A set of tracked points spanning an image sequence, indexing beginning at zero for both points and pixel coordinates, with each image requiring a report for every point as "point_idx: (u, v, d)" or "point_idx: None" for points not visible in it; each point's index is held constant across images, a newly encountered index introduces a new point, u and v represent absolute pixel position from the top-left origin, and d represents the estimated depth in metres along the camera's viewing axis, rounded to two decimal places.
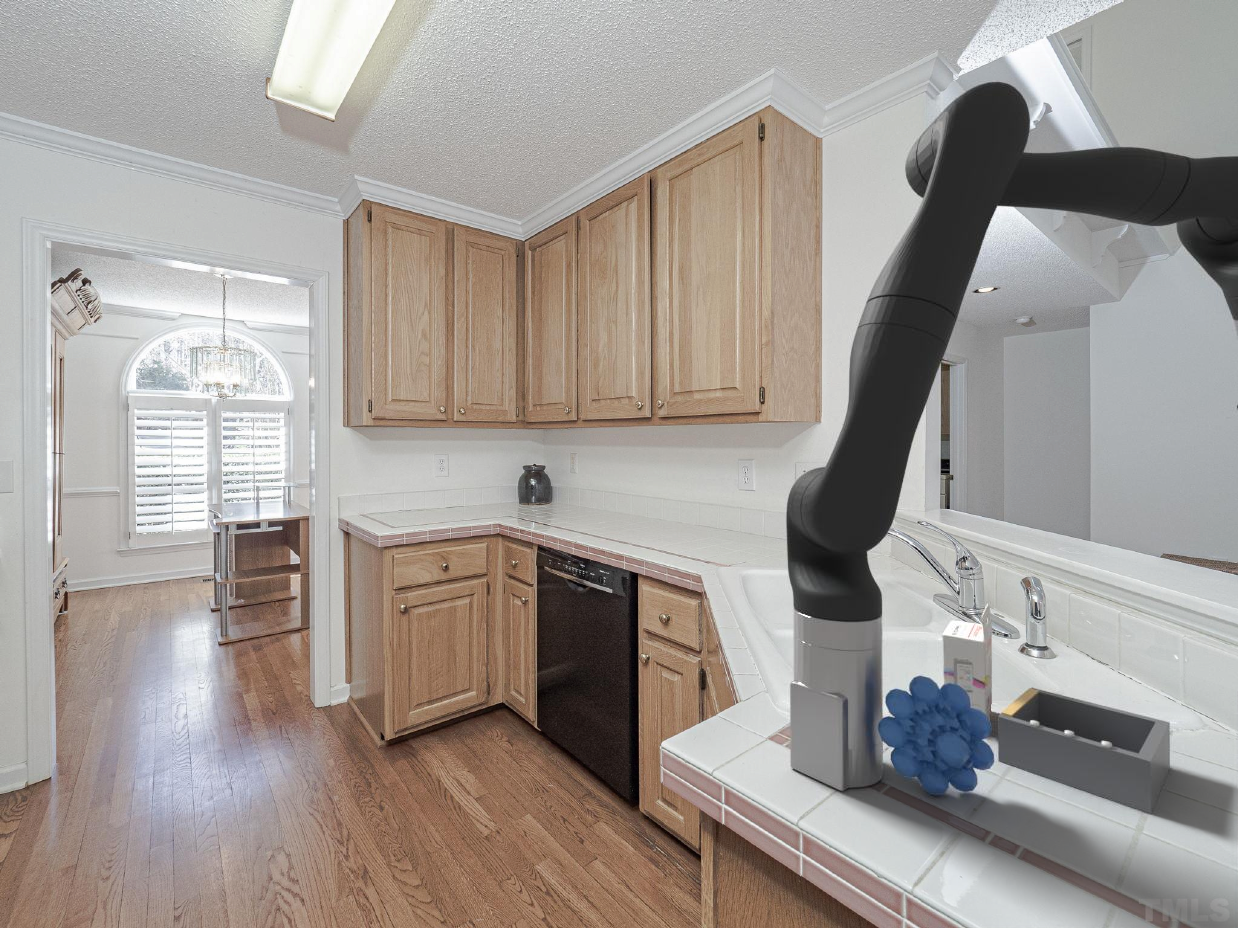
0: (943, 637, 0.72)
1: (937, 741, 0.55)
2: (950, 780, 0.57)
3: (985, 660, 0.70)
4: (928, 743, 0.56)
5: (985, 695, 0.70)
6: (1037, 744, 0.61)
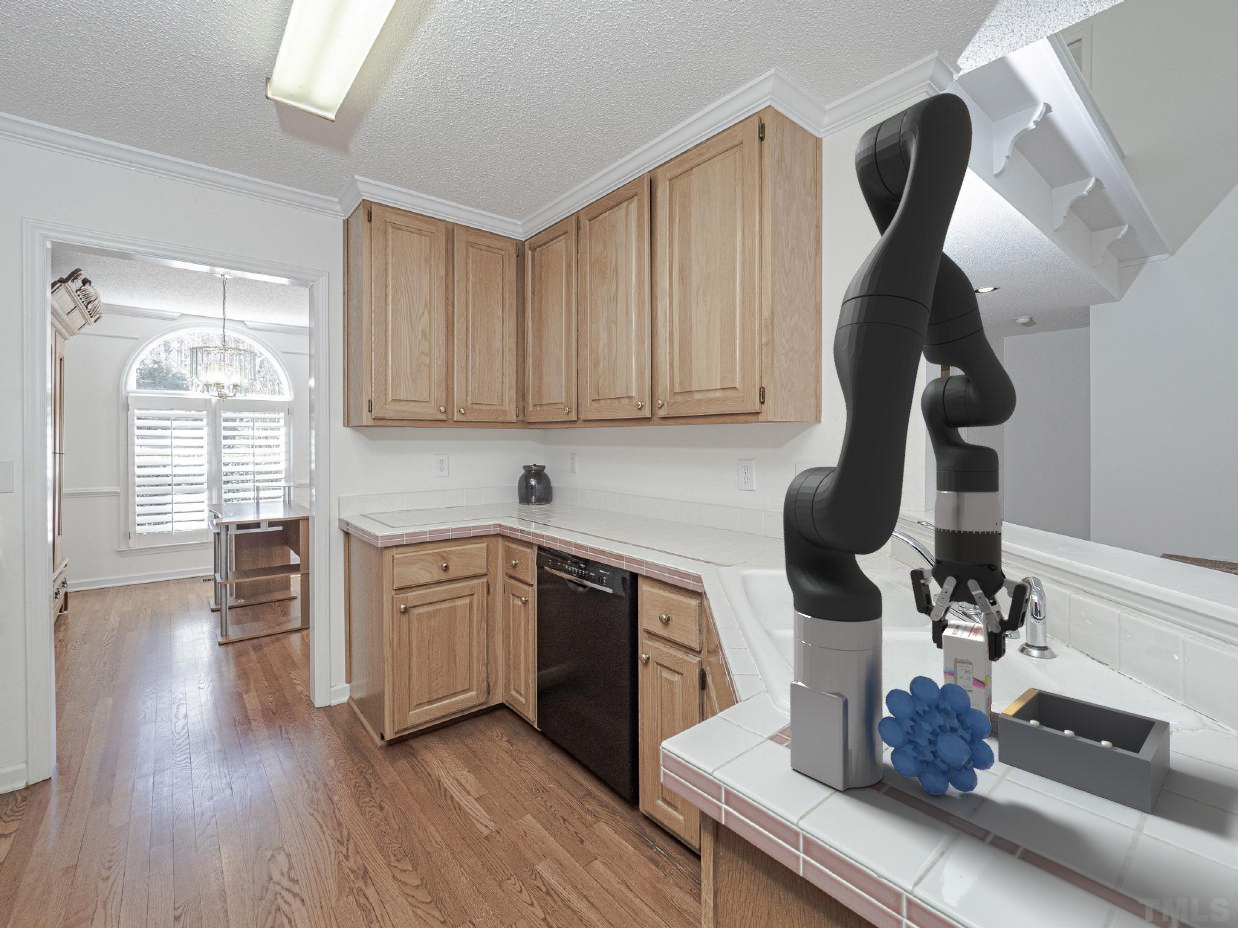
0: (943, 637, 0.72)
1: (937, 741, 0.55)
2: (950, 780, 0.57)
3: (985, 660, 0.70)
4: (928, 743, 0.56)
5: (985, 695, 0.70)
6: (1037, 744, 0.61)
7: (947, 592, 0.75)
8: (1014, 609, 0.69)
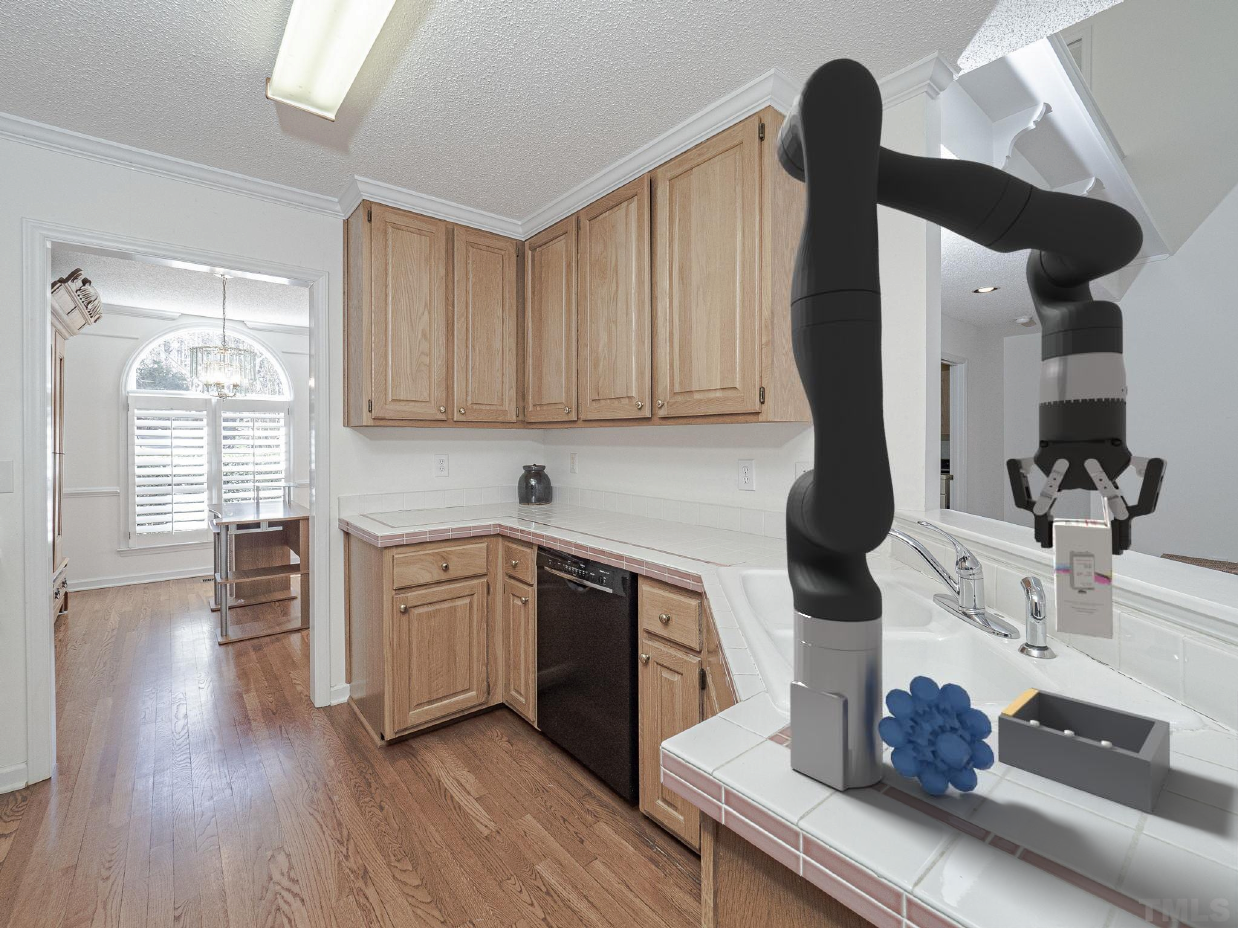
0: (1055, 527, 0.61)
1: (937, 741, 0.55)
2: (950, 780, 0.57)
3: (1111, 550, 0.58)
4: (928, 743, 0.56)
5: (1111, 592, 0.58)
6: (1037, 744, 0.61)
7: (1056, 478, 0.63)
8: (1147, 489, 0.58)
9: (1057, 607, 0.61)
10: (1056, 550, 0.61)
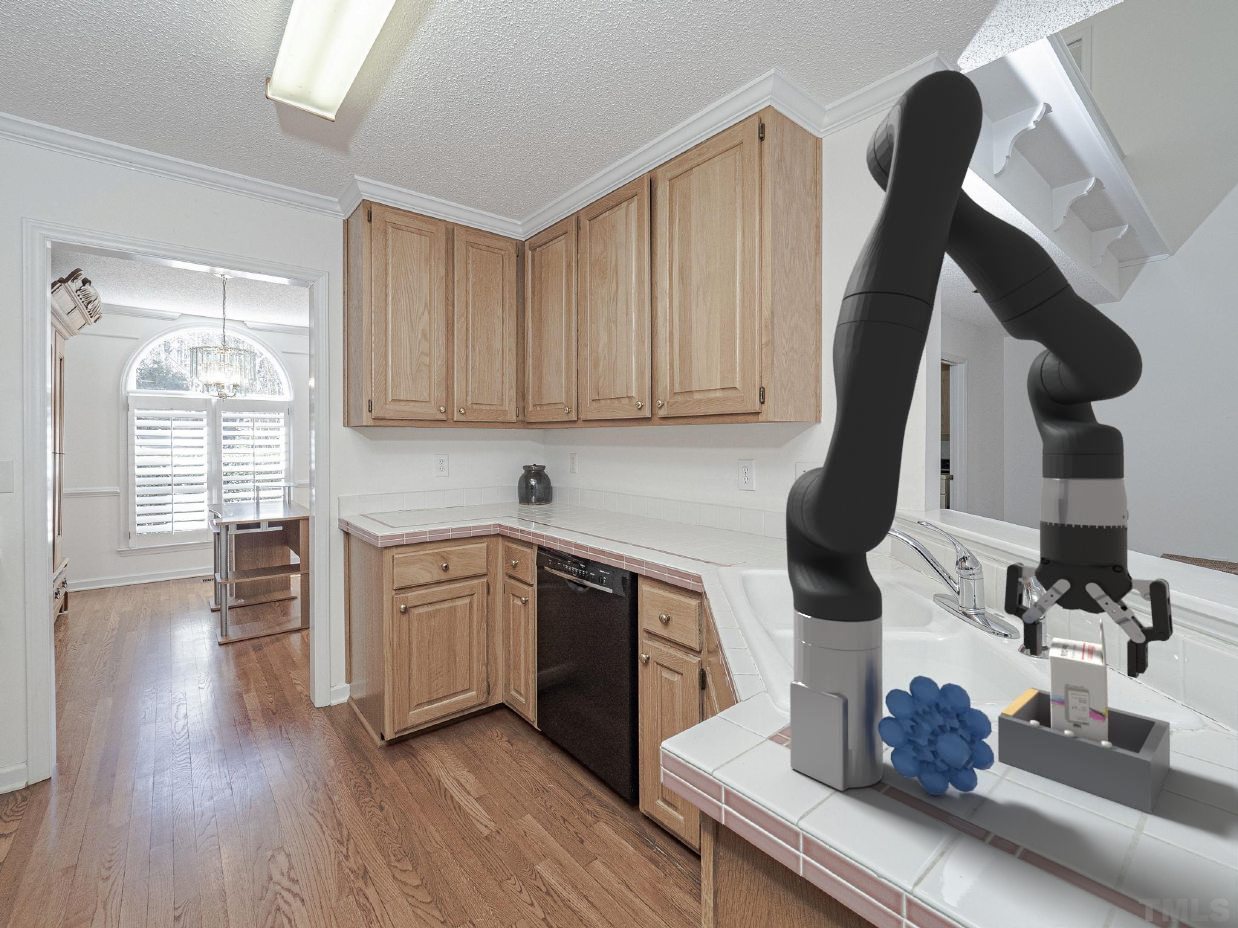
0: (1050, 658, 0.61)
1: (937, 741, 0.55)
2: (950, 780, 0.57)
3: (1106, 688, 0.58)
4: (928, 743, 0.56)
5: (1105, 729, 0.59)
6: (1037, 744, 0.61)
7: (1053, 596, 0.63)
8: (1157, 613, 0.57)
9: None
10: (1051, 681, 0.61)
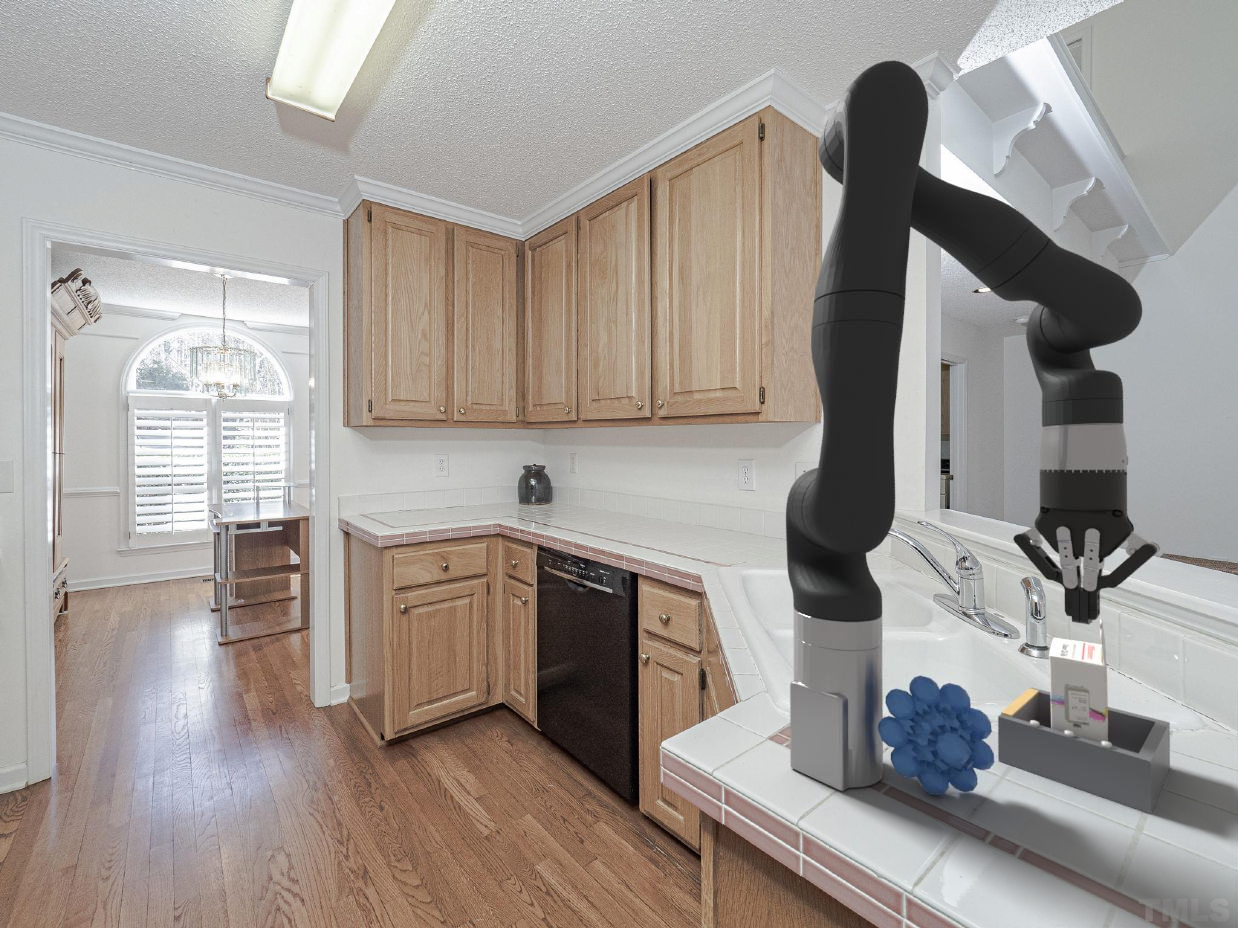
0: (1050, 658, 0.61)
1: (937, 741, 0.55)
2: (950, 780, 0.57)
3: (1106, 688, 0.58)
4: (928, 743, 0.56)
5: (1105, 729, 0.59)
6: (1037, 744, 0.61)
7: (1067, 547, 0.62)
8: (1125, 567, 0.59)
9: None
10: (1051, 681, 0.61)
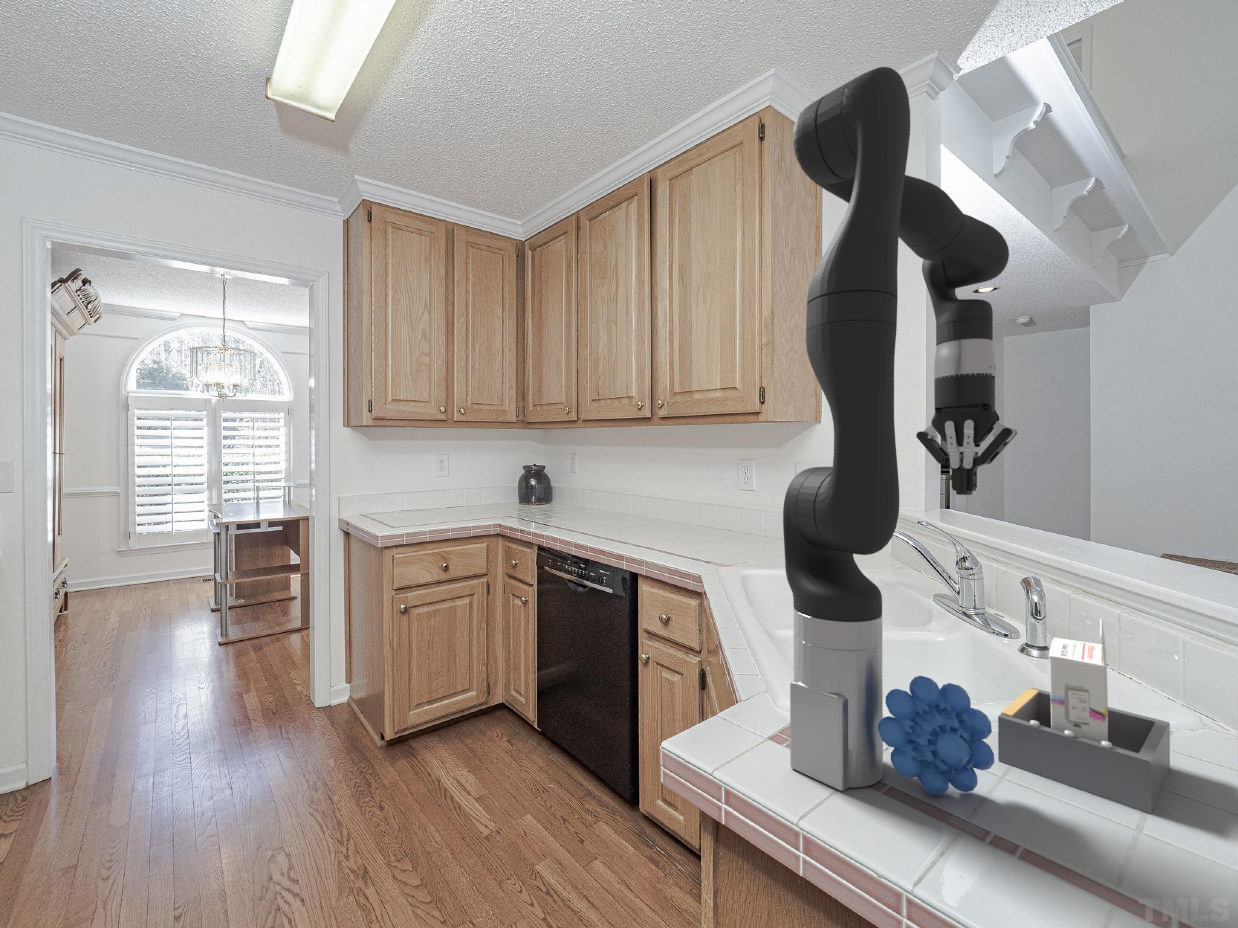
0: (1050, 659, 0.61)
1: (937, 741, 0.55)
2: (950, 780, 0.57)
3: (1106, 688, 0.58)
4: (928, 743, 0.56)
5: (1105, 729, 0.59)
6: (1037, 744, 0.61)
7: (952, 436, 0.81)
8: (991, 447, 0.78)
9: None
10: (1051, 681, 0.61)
